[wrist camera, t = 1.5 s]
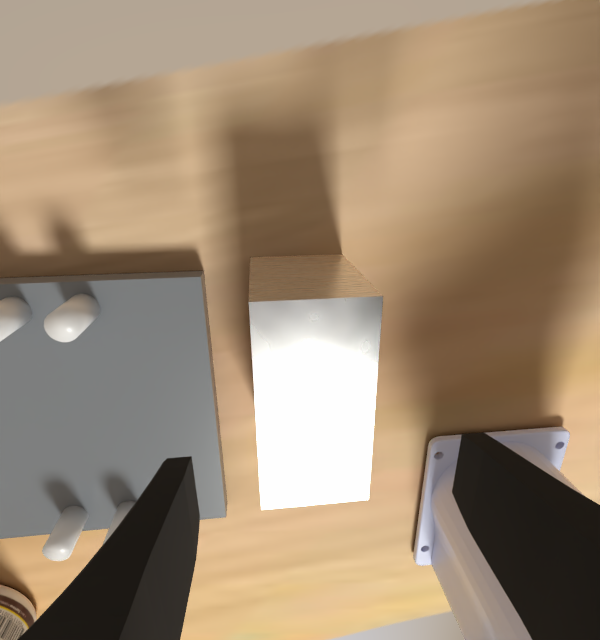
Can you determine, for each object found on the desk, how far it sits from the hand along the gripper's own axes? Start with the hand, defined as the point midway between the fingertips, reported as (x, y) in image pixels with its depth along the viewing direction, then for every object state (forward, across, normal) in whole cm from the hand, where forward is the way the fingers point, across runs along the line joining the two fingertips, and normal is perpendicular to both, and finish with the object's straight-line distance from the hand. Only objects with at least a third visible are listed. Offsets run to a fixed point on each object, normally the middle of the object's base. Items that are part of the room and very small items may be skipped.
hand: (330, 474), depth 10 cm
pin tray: (+9, +10, +3) cm, 14 cm away
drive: (+9, 0, 0) cm, 9 cm away
